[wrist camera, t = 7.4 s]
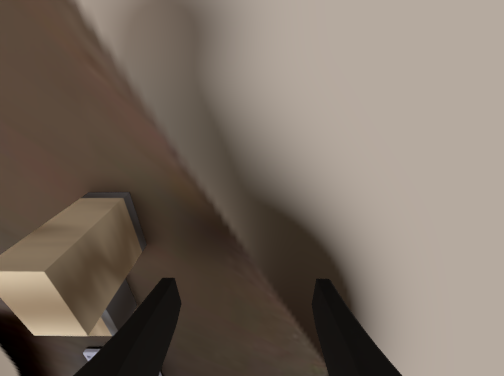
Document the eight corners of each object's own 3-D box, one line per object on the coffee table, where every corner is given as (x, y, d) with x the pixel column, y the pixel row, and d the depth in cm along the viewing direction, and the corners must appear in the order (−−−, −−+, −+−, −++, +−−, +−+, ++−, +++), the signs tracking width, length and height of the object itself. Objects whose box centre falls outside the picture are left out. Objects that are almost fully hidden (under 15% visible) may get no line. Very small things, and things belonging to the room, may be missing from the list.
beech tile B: (146, 244, 18) (88, 335, 12) (111, 244, 18) (34, 335, 12) (129, 192, 15) (44, 271, 9) (88, 192, 16) (-23, 271, 9)
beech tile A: (120, 336, 19) (44, 335, 19) (137, 303, 22) (69, 303, 22) (101, 300, 17) (13, 299, 17) (122, 269, 19) (46, 269, 20)
